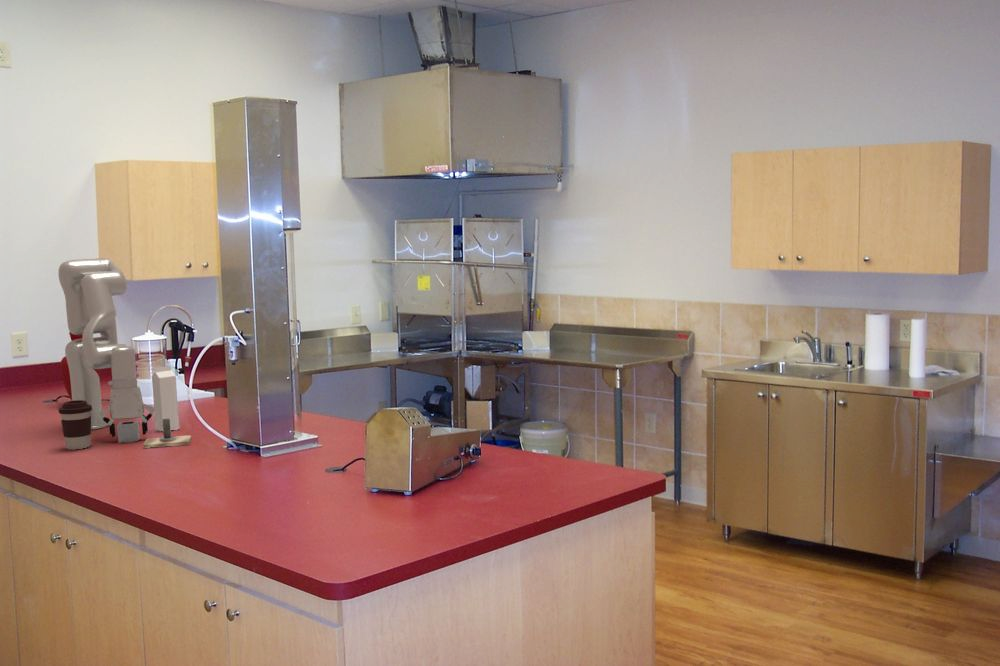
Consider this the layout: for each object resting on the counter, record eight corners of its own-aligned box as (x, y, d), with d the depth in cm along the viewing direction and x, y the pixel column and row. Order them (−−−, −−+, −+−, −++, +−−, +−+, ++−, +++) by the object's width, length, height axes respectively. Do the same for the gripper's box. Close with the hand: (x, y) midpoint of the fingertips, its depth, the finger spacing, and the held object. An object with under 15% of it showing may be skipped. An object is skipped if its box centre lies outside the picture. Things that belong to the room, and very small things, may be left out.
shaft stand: (143, 448, 329) (141, 424, 328) (146, 442, 338) (144, 418, 338) (189, 445, 332) (187, 420, 331) (191, 438, 342) (189, 414, 341)
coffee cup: (83, 451, 328) (79, 404, 326) (55, 451, 330) (51, 404, 328) (101, 444, 338) (97, 399, 336) (73, 444, 340) (70, 399, 338)
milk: (179, 429, 358) (175, 366, 355) (162, 432, 354) (158, 368, 351) (171, 427, 362) (167, 365, 360) (155, 430, 358) (150, 367, 356)
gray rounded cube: (118, 443, 338) (117, 425, 338) (120, 439, 344) (119, 421, 344) (137, 441, 340) (136, 423, 339) (139, 438, 346) (138, 420, 345)
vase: (66, 411, 402) (60, 334, 398) (61, 405, 414) (55, 331, 411) (106, 406, 409) (100, 331, 406) (100, 401, 422) (94, 328, 418)
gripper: (95, 387, 334) (99, 439, 336) (151, 383, 338) (155, 435, 340) (98, 384, 341) (103, 435, 343) (153, 380, 345) (157, 430, 347)
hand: (129, 435), depth 342 cm, fingers open, 9 cm apart
